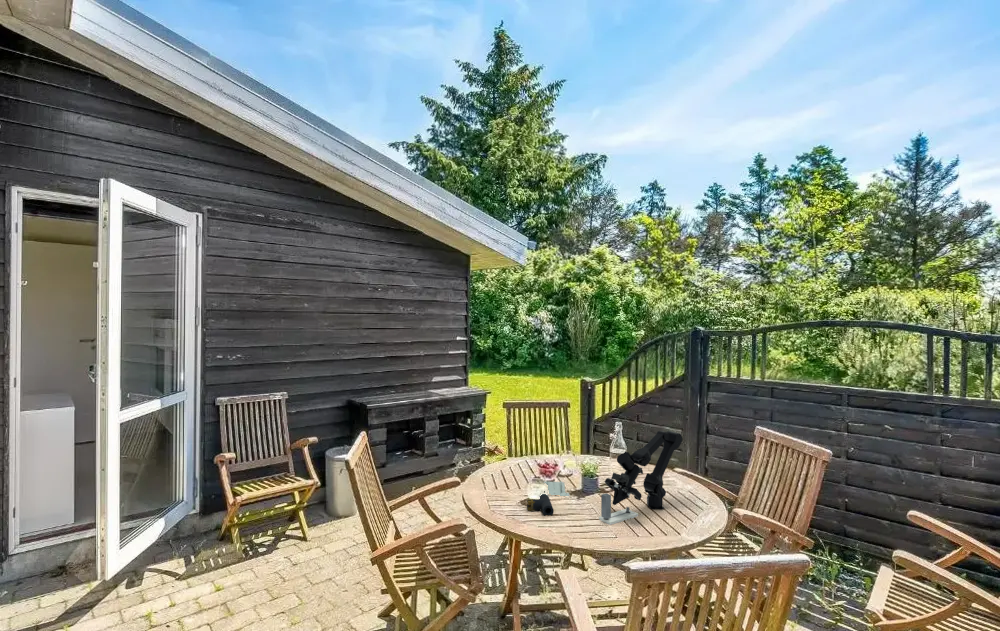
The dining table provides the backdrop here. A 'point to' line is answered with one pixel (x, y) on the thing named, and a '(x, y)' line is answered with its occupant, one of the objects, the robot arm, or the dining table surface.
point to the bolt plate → (619, 516)
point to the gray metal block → (605, 505)
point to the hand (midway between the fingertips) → (613, 504)
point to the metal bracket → (557, 488)
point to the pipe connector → (540, 504)
